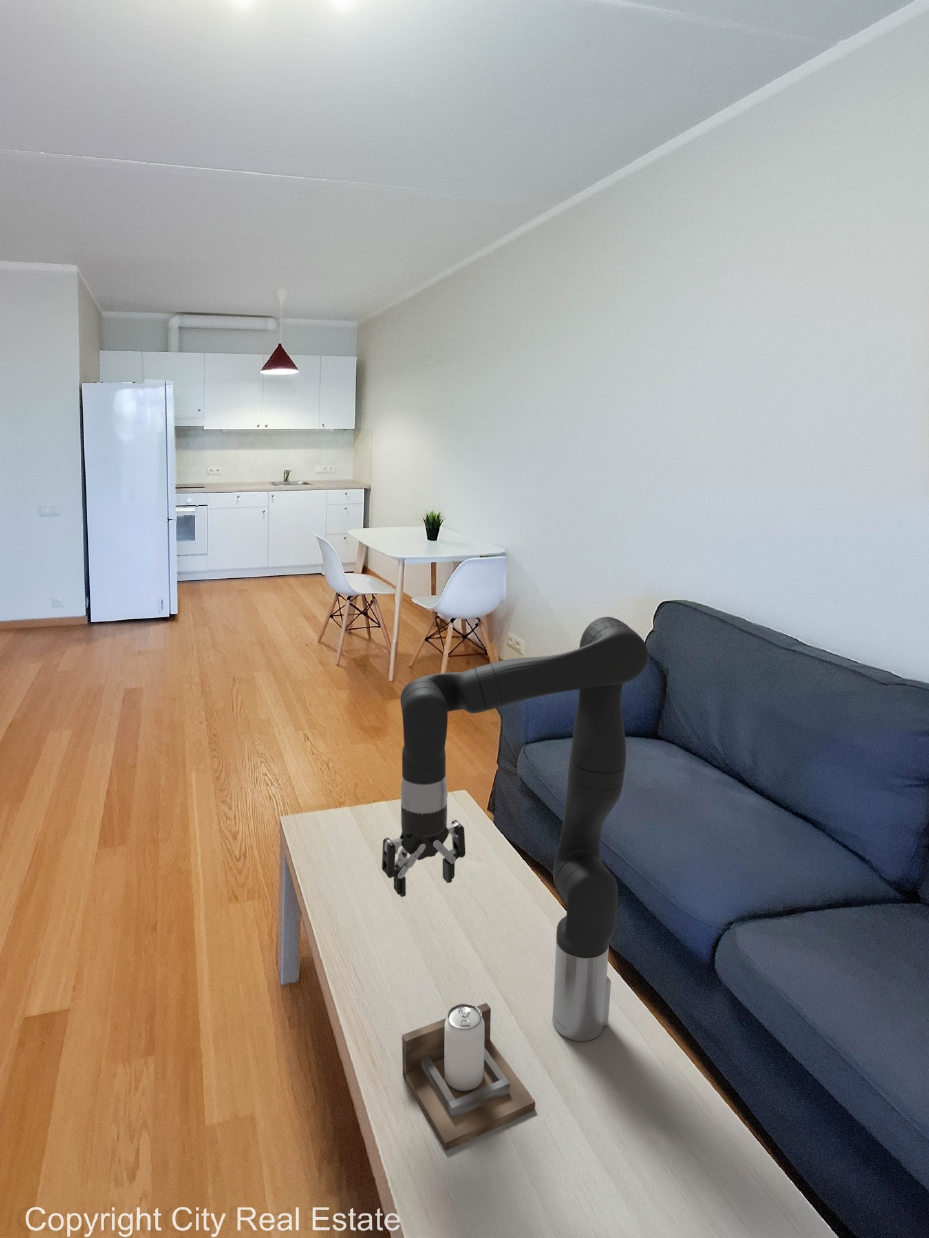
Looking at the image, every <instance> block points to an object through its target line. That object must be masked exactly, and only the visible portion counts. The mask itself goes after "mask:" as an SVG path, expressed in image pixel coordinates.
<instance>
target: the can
mask: <svg viewBox="0 0 929 1238" xmlns="http://www.w3.org/2000/svg"><path fill="white" fill-rule="evenodd" d="M445 1018H446V1021H445V1079H446V1081H447V1083H448V1084H449V1085H450V1086H451V1087H452V1088H454V1089H456V1090H459V1091H470V1090H473V1089H474V1088H476V1087H477V1086H479V1085H480V1083H481V1082H482V1080H483V1076H484V1020H483V1018H482V1013H481V1011H480V1010H479V1009H478V1008H477V1006H475V1005H473V1004H471V1003H459V1004H455V1005H454V1006H451V1008H450V1009H449V1010H448V1013H447V1016H446V1017H445Z"/></svg>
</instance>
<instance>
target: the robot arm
mask: <svg viewBox="0 0 929 1238" xmlns="http://www.w3.org/2000/svg"><path fill="white" fill-rule="evenodd" d="M648 662H649V649H648V645H647V643H645V640H644V639H643V638H642V637H641V636H640V634H638V633H637V632H636V631H635V630H633V629H632V628H631V627H630V626H629V625H628V624H626V623H625V622H624V621H621V620H620V619H618V618H615V617H612V616H603V617H599V618H596V619H595V620H593V621H592V622H590V623H589V625H587V626H586V628H585V629H584V632H583V633H582V635H581V638H580V641H579V648H577V649H576V648H575V649H573V650H569V651H567V652H562V653H557V654H552V655H545V656H533V657H532V656H531V657H519V658H510V659H503V660H499V661H494V662H491V663H488V664H484V665H480V666H477V667H473V668H470V669H468V670H464V671H454V672H453V671H451V672H441V673H435V674H434V673H433V674H427V675H423V676H420V677H417V678H416V679H414V680H413V679H412V680H411V681H410V682H408V683H407V684H406V685H405V686H404V687H403V689H402V691H401V693H400V698H399V699H400V707H401V715H402V727H403V729H402V730H403V747H402V750H401V751H402V753H401V774H402V776H401V784H400V813H401V814H400V825H401V833H400V834H401V835H399V838H394V839H390V838H389V837H385V838H384V839H383V840H382V852H381V853H382V857H381V870H382V871H383V872H384V873H385V875H386V876H387V878H388V879H392V878H393V889H394V891H395V892H396V894H397V895H399V896H400V898H403V897H404V898H405V897H406V896H407V884H406V880H407V879H406V878H407V877H406V874H407V872H408V870H409V869H410V868H413V866H415V863H416V861H421V860H424V859H426V858H432V857H435V856H436V854H437V853H438V852H439V853H440V855H442V856H443V857H444V858H442V879H443V880H444V881H445V882H446V884H450V883H452V882H453V879H454V878H455V876H456V872H455V869H456V866H455V862H456V861H457V860H458V859H459V858H461V859H462V858H464V857H465V856H466V839H465V838H466V836H465V834H466V833H465V827H464V826H463V824H461V823H460V822H459V821H458V820H457V819H453V820H452V821H451V824H448V794H449V793H448V785H447V784H448V783H447V775H446V769H447V768H446V764H447V763H446V759H447V758H446V757H447V756H446V741H447V733H448V723H449V721H448V717H449V716H448V715H449V714H448V713H449V712H453V711H461V710H464V711H465V712H467V713H469V714H479V713H484V712H486V711H490V710H491V711H492V710H494V709H499V708H502V707H505V706H508V705H511V704H515V703H519V702H522V701H526V700H530V699H535V698H538V697H543V696H547V695H552V694H553V695H554V694H557V693H563V692H570V691H576V690H578V701H577V706H576V713H575V720H574V726H573V727H574V728H573V732H572V733H573V734H572V743H571V749H570V755H569V763H568V770H567V772H568V773H567V783H566V795H565V803H564V812H563V822H562V829H561V833H560V837H559V842H558V845H557V846H558V847H557V851H556V855H555V859H554V864H553V870H552V877H553V883H554V886H555V888H556V890H557V892H558V893H559V894H560V896H561V898H562V899H563V901H564V902H565V904H566V914H565V916H563V917H562V918H561V919H560V920H559V922H558V923H557V926H556V933H555V935H556V936H555V937H556V939H555V962H554V980H553V981H554V983H553V984H554V985H553V1002H552V1003H553V1004H552V1024H553V1026H554V1029H555V1030H556V1032H558V1033H559V1034H560V1035H561V1036H563V1037H564V1038H566V1039H569V1040H573V1041H575V1042H576V1041H577V1042H587V1041H592V1040H594V1039H596V1038H597V1037H599V1036H600V1035H601V1033H602V1031H603V1029H604V1028H605V1027H607V1026H608V1025H609V1018H610V1017H609V1015H610V1014H609V1013H610V1004H611V1003H610V1000H611V987H612V986H611V985H612V980H611V978H609V976H608V965H609V964H608V962H609V950H610V949H609V947H610V940H611V938H612V936H613V934H614V931H615V927H616V922H617V921H616V920H617V912H618V902H619V890H618V889H619V888H618V883H617V880H616V878H615V877H614V876H613V874H612V873H611V872H610V870H609V869H608V868H607V866H605V863H603V862H602V860H601V855H600V854H601V853H600V851H601V850H600V847H601V846H600V845H601V837H602V828H603V825H604V822H605V820H606V818H607V817H608V815H609V814H610V812H611V811H612V810H613V808H614V807H615V806H616V804H617V803H618V802H619V799H620V796H621V794H622V792H623V785H624V780H625V779H624V778H625V772H626V771H625V770H626V762H627V761H626V759H627V746H626V744H627V743H626V735H625V726H624V719H623V713H622V694H623V688H624V687H623V686H624V684H625V683H629V682H632V681H633V680H635V679H636V678H638V677H639V676H640V675H641V674H642V673H643V672H644V670H645V669H646V667H647V665H648ZM449 836H451V841H452V848H451V849H450V850H449V849H448V848H447V847H446V846H445V845H444V844H445V841H447V839H448V837H449ZM400 847H402V848H401V850H400V851H399V848H400ZM408 854H409V856H408ZM396 855H397V859H396Z"/></svg>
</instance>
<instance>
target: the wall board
mask: <svg viewBox="0 0 929 1238" xmlns="http://www.w3.org/2000/svg"><path fill="white" fill-rule="evenodd" d="M476 1007H477V1008H478V1009H479V1010H480V1011H481V1013H482V1018H483V1020H484V1076H483V1080H482V1082H481V1083H480V1085H479V1086H477V1087H476V1088H474V1089H473V1090H470V1091H459V1090H456V1089H454V1088H452V1087H451V1086H450V1085H449V1084H448V1083H447V1081H446V1079H445V1021H446V1018H447V1017H445V1018H443V1019H440V1020H437V1021H436V1022H433V1023H430V1024H426V1025H424V1026H422V1027H420V1028H417V1029H414V1030H412V1031H409V1032H406V1033H404V1034H402V1035H401V1040H402V1041H401V1050H402V1051H401V1055H402V1059H401V1060H402V1062H401V1063H402V1076H403V1077H404V1079H405V1081H406V1083H407V1084H408V1087H409V1088H410V1091H411V1093H412V1094H413V1096H414V1097H415V1099H416V1101H417V1102H418V1104H419V1106H420V1108H421V1110H422V1112H423V1114H424V1115H425V1117H426V1119H427V1120H428V1122H429V1124H430V1126H431V1127H432V1129H433V1132H434V1133H435V1135H436V1137H437V1139H438V1140H439V1142H440V1144H441V1145H442V1147H443V1149H444V1151H445V1152H446V1151H449V1150H450V1149H453V1148H454V1147H457V1146H459V1145H461V1144H464V1143H465V1142H467V1141H470V1140H472V1139H474V1138H476V1137H479V1136H480V1135H483V1134H485V1133H487V1132H489V1131H491V1130H493V1129H496V1128H498V1127H500V1126H502V1125H504V1124H506V1123H508V1122H510V1121H513V1120H515V1119H517V1118H519V1117H521V1116H523V1115H526V1114H528V1113H529V1112H531V1111H532V1112H533V1111H535V1110H536V1100H535V1099H534V1098H533V1097H532V1095H531V1094H530V1092H529V1091H528V1089H527V1088H526V1087H525V1085H524V1084H523V1082H522V1081H521V1080H520V1078H518V1076H517V1074H516V1073H515V1071H514V1070H513V1069H512V1068H511V1066H510V1065H509V1063H508V1062H507V1061H506V1059H505V1057H504V1056H503V1055H502V1053H501V1052H500V1051H499V1050H498V1048H497V1047H496V1046H495V1043H493V1042H492V1040H491V1021H492V1020H491V1017H492V1016H491V1012H492V1009H491V1006H490V1005H489V1004H488V1002H485V1003H482V1004H480V1005H477V1006H476Z"/></svg>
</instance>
